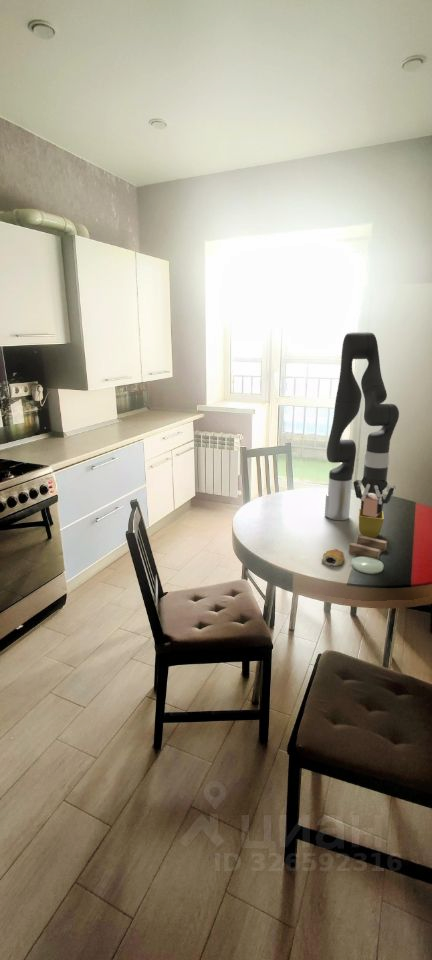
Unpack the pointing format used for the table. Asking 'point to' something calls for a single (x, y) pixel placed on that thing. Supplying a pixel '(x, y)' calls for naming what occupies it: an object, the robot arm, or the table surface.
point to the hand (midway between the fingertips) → (371, 511)
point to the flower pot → (370, 524)
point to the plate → (367, 565)
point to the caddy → (368, 547)
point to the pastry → (333, 557)
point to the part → (370, 506)
